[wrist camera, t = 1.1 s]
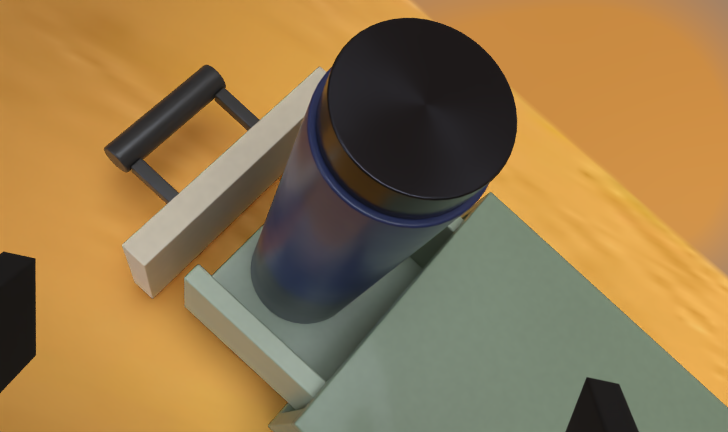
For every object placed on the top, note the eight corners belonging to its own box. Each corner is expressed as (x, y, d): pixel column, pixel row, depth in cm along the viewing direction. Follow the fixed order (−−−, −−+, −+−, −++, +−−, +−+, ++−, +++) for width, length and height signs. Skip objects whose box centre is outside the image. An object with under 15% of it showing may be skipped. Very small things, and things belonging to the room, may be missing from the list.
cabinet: (267, 426, 32) (293, 424, 24) (425, 242, 37) (491, 190, 29) (495, 638, 32) (597, 706, 24) (625, 425, 37) (747, 423, 29)
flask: (227, 271, 32) (271, 98, 15) (301, 198, 34) (411, -27, 17) (308, 347, 32) (442, 253, 15) (378, 268, 34) (562, 110, 17)
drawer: (68, 221, 32) (40, 169, 26) (238, 76, 36) (249, 1, 30) (346, 478, 32) (385, 490, 25) (484, 301, 36) (548, 273, 30)
